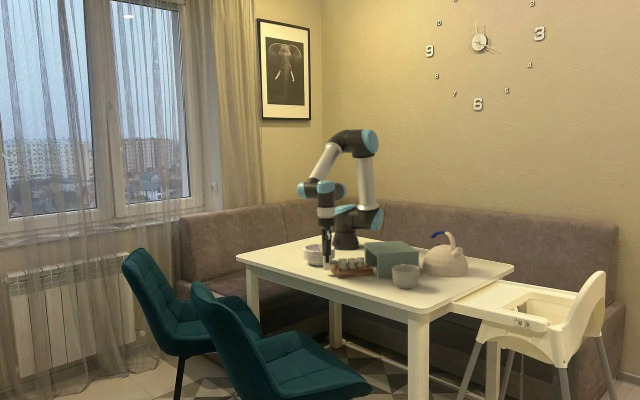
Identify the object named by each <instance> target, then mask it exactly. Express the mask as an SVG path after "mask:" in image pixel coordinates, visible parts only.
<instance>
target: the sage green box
mask: <svg viewBox="0 0 640 400" xmlns="http://www.w3.org/2000/svg"><path fill="white" fill-rule="evenodd" d="M419 255H420V251H419V250H417V249H416V248H415V247H413V246H410V244H408V243H406V242H405V241H403V240H390V241H389V240H387V241H385V240H384V241H368V242H367V241H366V242H364V262H365V263H366V264H368V265H369V266H371V267H376V278H377V279H378V280H385V279H393V276H392V268H393V267H394V266H397V265H401V264H406V265H415V266H418V267H419V268H420V256H419Z"/></svg>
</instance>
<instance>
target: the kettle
mask: <svg viewBox="0 0 640 400" xmlns="http://www.w3.org/2000/svg"><path fill="white" fill-rule="evenodd" d="M439 235H446V236H447V237H448V239H449V241H450V244H440V243H436V246H434V247H432V248H431V249H429V250H428V251H427V253H426V254H425V255H424V258H423V261H422V269H421V270H422V271H423V273H426V274H428V275H430V276H431V275H432V276H437V277H444V278H445V277H447V278H452V277H453V278H454V277H456V278H457V277H461V276H466V275H467V274H468V273H469V261H468V260H467V259H468V258H467V257H466V255H465V254H464V249H463V248H462V247H460V246H457V247H456V245H457V244H456V240H455V236H453V234H452V233H451V232H449V231H447V230H439V231H435V232H433V234H432V235H431V236H430V238H432V239H435V238H436V237H437V236H439Z"/></svg>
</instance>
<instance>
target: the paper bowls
mask: <svg viewBox="0 0 640 400" xmlns="http://www.w3.org/2000/svg"><path fill="white" fill-rule="evenodd" d="M302 249H303V250H302V251H303V252H302V254H303V256H302V257H303V259H304V260H306V261H307V262H308V264H309V265H311V266H318V267H319V266H323V252H322V243H313V244H308V245H305V246H303V248H302ZM335 258H336V249H335V247H334V246H332V244H331V255H330V262H331V261H332V260H333V259H335Z"/></svg>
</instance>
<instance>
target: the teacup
mask: <svg viewBox="0 0 640 400" xmlns="http://www.w3.org/2000/svg"><path fill="white" fill-rule="evenodd" d="M392 276H393V278H392V281H393V284H394V285H395V286H397V288H398V289H401V290H409V289H410V290H411V289H414V288H416V286H417V285H418V284H419V283H420V282H419V281H420V266H419V267H418V266H415V265H406V264H401V265H397V266H394V267H393V268H392Z"/></svg>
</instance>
